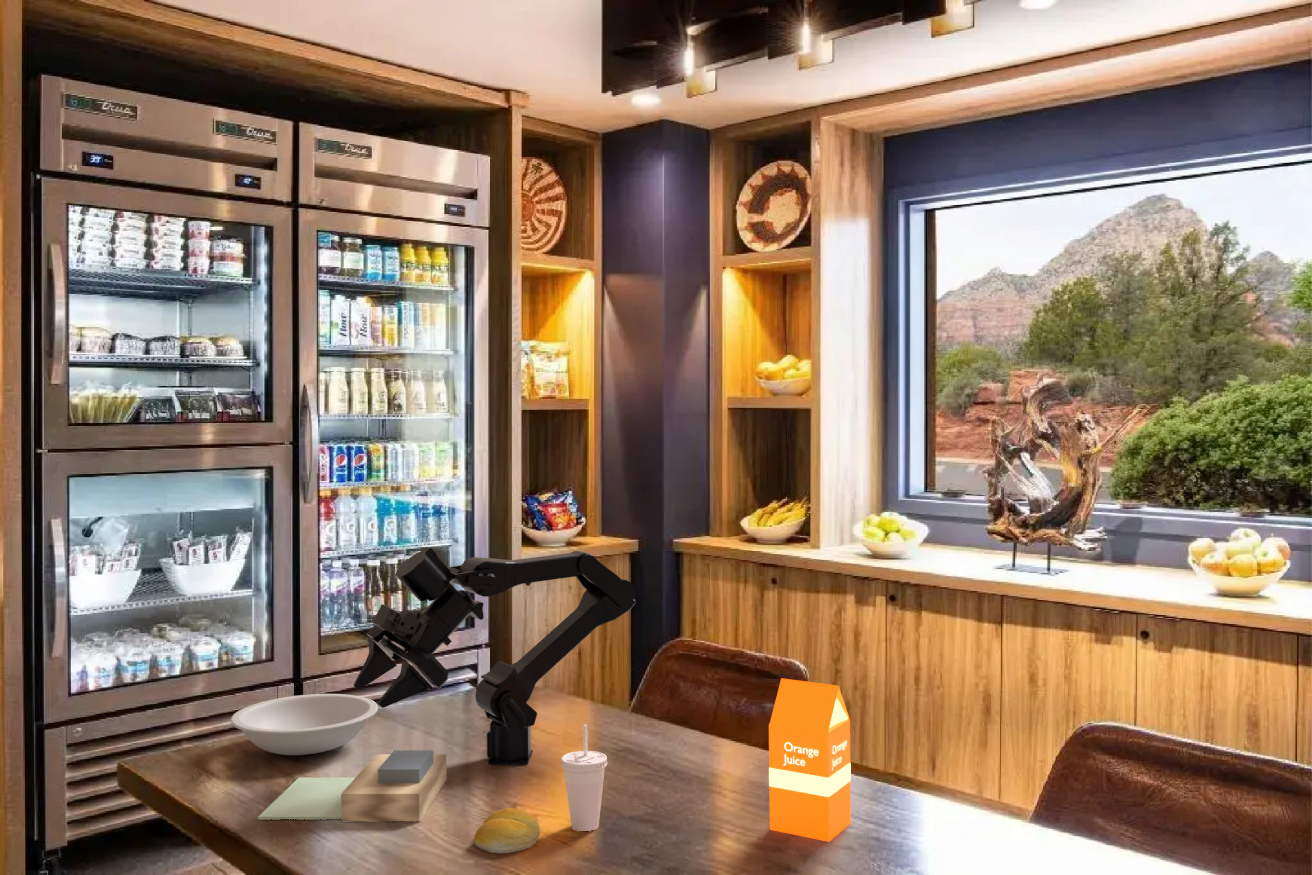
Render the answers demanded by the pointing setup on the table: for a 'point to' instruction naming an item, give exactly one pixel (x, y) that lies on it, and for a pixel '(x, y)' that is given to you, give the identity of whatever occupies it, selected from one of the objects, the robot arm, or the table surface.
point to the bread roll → (507, 831)
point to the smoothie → (584, 785)
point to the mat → (309, 800)
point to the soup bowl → (304, 722)
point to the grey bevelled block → (405, 766)
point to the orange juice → (809, 761)
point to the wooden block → (391, 794)
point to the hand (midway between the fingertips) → (367, 696)
